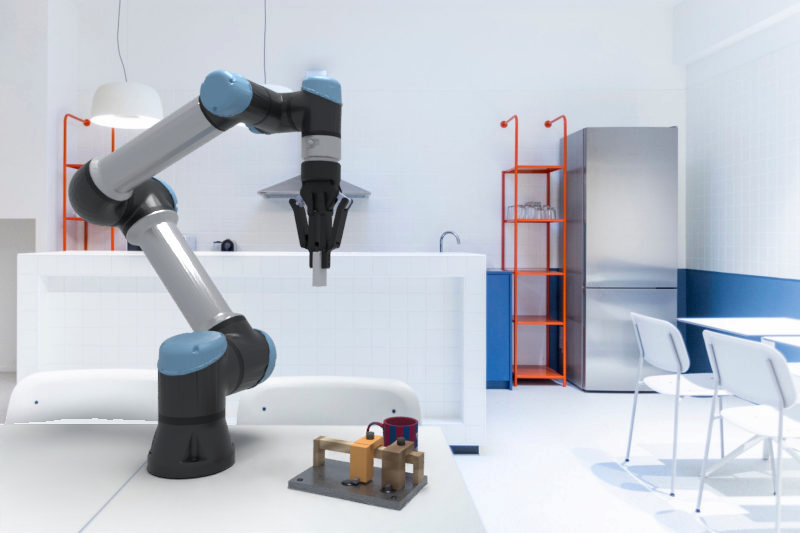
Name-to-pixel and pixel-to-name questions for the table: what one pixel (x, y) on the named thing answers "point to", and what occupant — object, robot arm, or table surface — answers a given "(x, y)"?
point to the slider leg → (364, 457)
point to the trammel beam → (390, 456)
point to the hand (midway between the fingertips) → (319, 286)
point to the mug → (398, 430)
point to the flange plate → (354, 485)
